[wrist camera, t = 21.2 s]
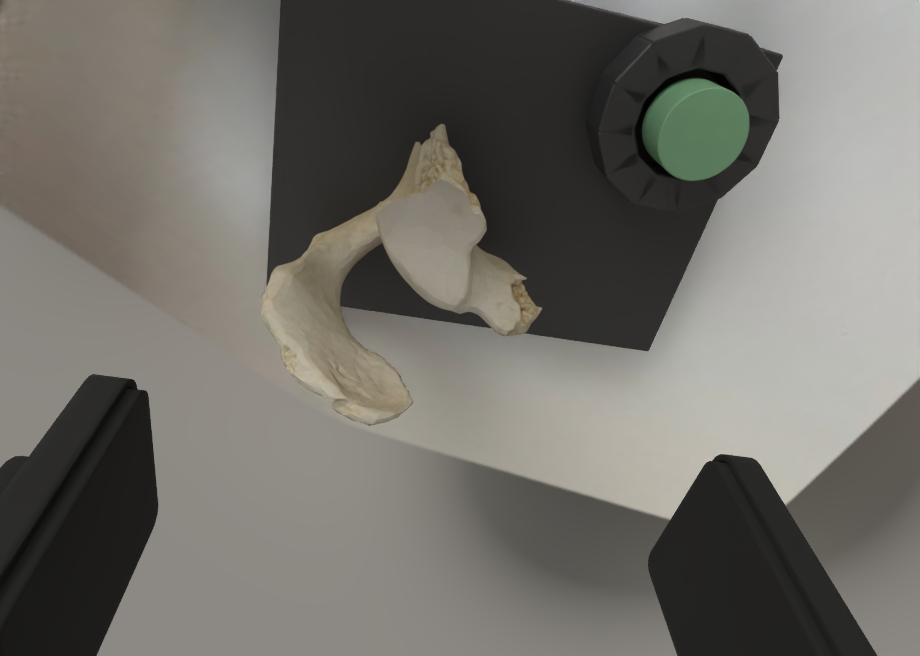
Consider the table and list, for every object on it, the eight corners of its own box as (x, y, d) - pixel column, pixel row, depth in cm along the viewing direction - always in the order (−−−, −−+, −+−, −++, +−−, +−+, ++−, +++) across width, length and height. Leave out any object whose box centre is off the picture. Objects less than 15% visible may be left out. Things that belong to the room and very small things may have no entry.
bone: (591, 130, 19) (578, 433, 14) (528, 243, 25) (503, 487, 20) (320, 55, 18) (211, 358, 13) (318, 191, 24) (241, 438, 19)
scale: (768, 37, 21) (817, 51, 18) (638, 334, 27) (661, 374, 25) (292, -81, 18) (273, -84, 16) (272, 278, 25) (256, 318, 22)
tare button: (742, 87, 19) (767, 98, 18) (705, 173, 21) (725, 189, 19) (661, 68, 19) (679, 78, 17) (628, 157, 20) (643, 172, 19)
